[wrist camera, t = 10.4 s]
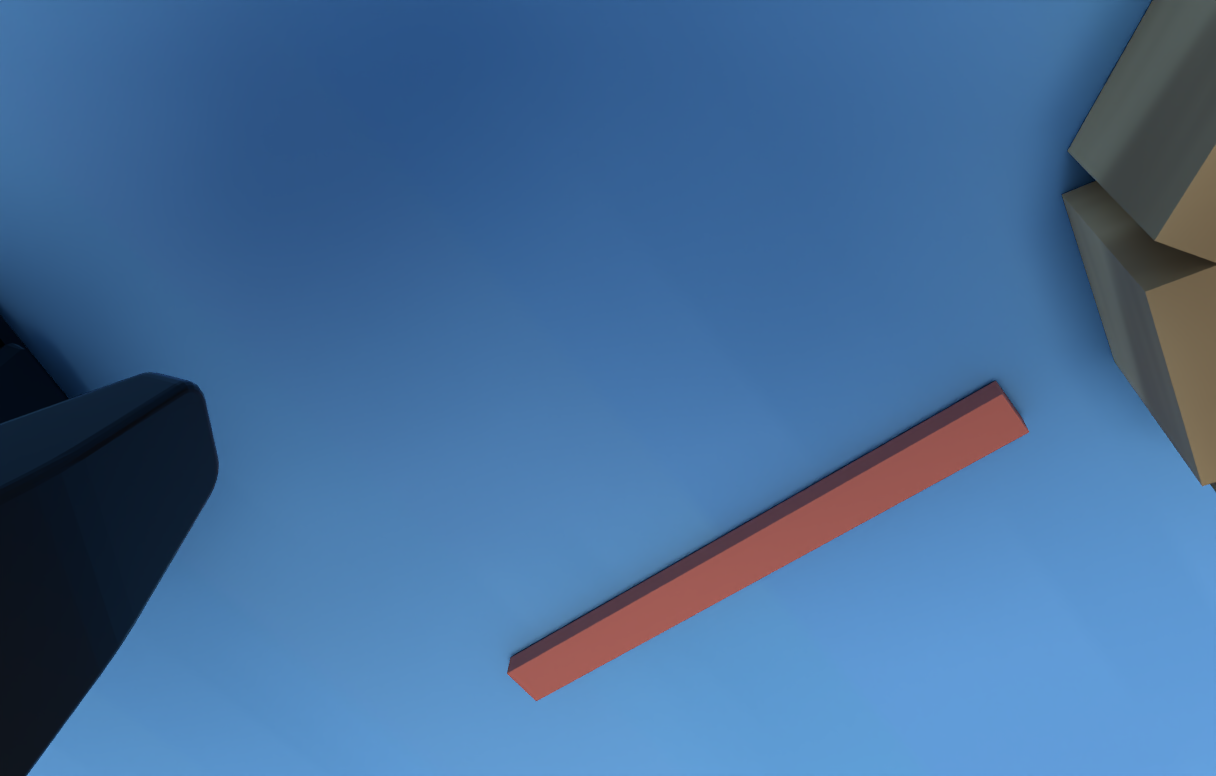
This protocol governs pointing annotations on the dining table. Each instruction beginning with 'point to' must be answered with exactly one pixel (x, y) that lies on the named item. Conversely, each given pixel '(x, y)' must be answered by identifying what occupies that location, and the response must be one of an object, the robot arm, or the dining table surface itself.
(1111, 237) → the tan segmented ring
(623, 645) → the brick-red rectangular plank
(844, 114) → the dining table surface
